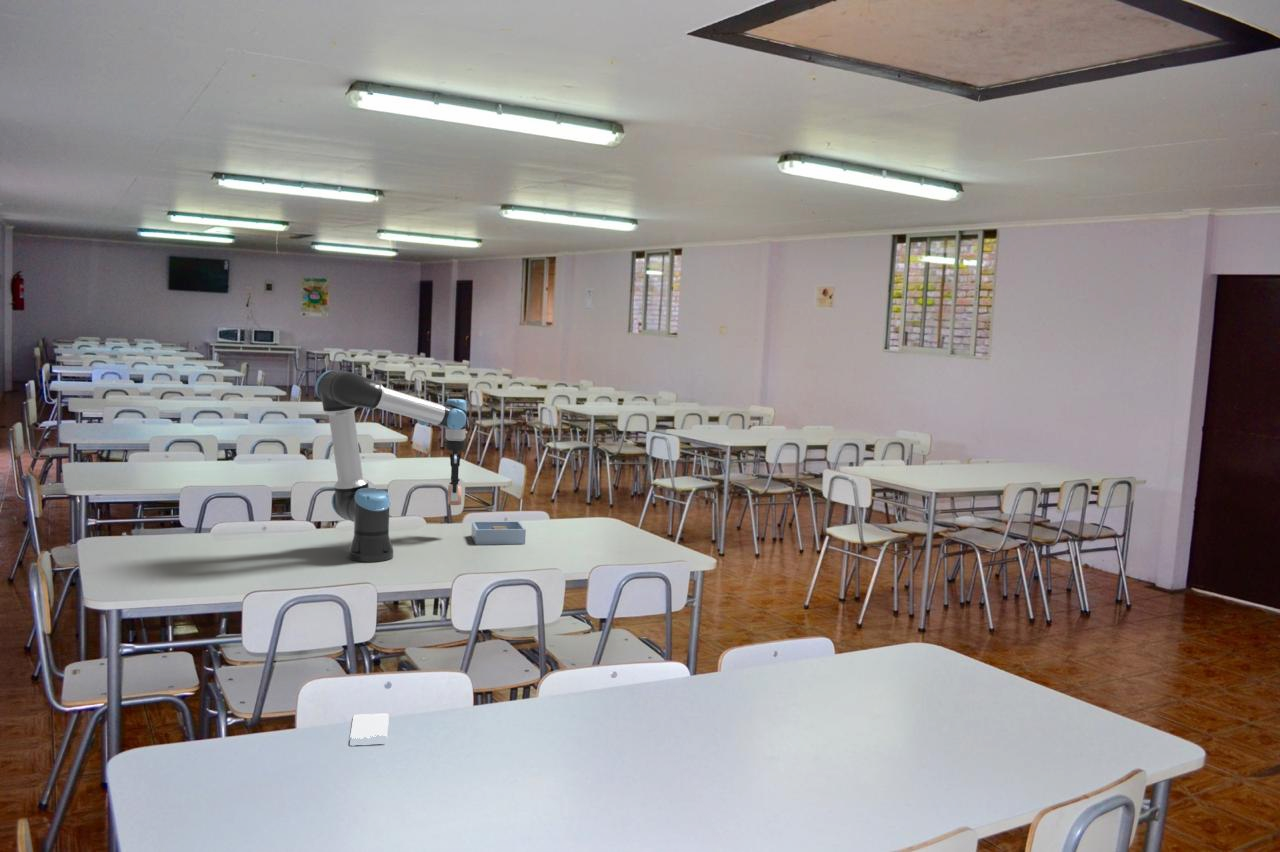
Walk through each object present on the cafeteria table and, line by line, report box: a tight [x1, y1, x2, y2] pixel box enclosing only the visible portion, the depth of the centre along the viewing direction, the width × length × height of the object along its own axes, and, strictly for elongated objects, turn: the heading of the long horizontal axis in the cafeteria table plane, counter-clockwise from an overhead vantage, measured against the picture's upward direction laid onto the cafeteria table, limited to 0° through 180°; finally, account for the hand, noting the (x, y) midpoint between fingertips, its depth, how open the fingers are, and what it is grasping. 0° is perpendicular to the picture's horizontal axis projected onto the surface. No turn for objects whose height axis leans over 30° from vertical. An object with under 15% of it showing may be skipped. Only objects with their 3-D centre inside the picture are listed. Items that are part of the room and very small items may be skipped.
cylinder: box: [447, 484, 462, 506], centre depth 381 cm, size 5×5×7 cm
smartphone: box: [349, 712, 390, 739], centre depth 202 cm, size 7×1×15 cm
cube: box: [492, 526, 507, 529], centre depth 378 cm, size 5×5×5 cm
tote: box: [470, 520, 527, 546], centre depth 381 cm, size 19×16×6 cm
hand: (454, 499), depth 381 cm, fingers closed on cylinder, 5 cm apart
